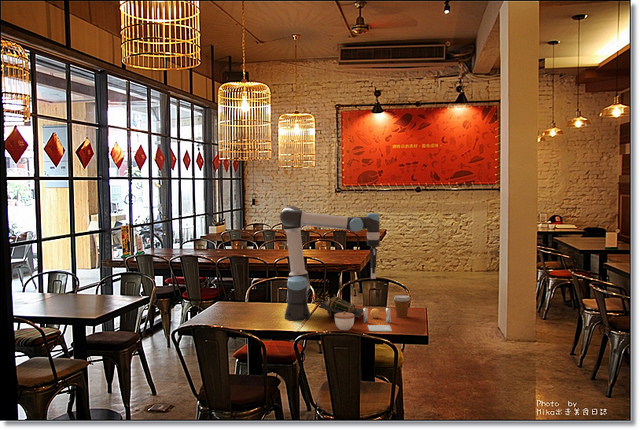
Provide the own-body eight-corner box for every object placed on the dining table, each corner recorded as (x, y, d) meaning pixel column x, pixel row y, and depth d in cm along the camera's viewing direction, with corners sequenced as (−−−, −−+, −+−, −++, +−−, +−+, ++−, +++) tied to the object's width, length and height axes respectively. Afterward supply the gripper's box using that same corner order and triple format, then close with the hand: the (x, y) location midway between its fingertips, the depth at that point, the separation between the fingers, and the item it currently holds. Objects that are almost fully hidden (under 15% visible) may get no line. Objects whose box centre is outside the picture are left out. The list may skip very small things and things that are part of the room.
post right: (386, 323, 321) (386, 308, 320) (385, 321, 323) (385, 307, 323) (390, 323, 321) (390, 308, 320) (390, 321, 323) (390, 307, 323)
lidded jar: (352, 332, 302) (352, 314, 301) (332, 330, 305) (332, 313, 304) (356, 327, 312) (356, 310, 311) (337, 325, 315) (337, 308, 314)
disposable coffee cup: (398, 319, 330) (398, 298, 329) (390, 315, 339) (390, 295, 338) (413, 317, 333) (413, 297, 333) (404, 314, 342) (404, 294, 342)
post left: (363, 323, 321) (363, 309, 320) (363, 322, 323) (363, 308, 323) (368, 323, 321) (368, 308, 320) (367, 322, 323) (367, 307, 323)
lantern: (355, 330, 320) (305, 313, 326) (360, 324, 343) (313, 309, 349) (362, 307, 320) (312, 290, 326) (366, 302, 343) (319, 287, 349)
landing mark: (369, 331, 303) (369, 330, 303) (367, 325, 315) (367, 325, 315) (392, 331, 303) (392, 330, 303) (389, 325, 315) (389, 325, 315)
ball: (370, 319, 330) (370, 309, 330) (369, 316, 336) (369, 307, 335) (380, 319, 330) (380, 309, 330) (379, 316, 336) (379, 307, 335)
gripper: (380, 240, 335) (380, 280, 336) (378, 238, 348) (378, 276, 349) (368, 240, 335) (368, 280, 336) (366, 238, 348) (366, 276, 349)
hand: (373, 278), depth 343 cm, fingers closed
